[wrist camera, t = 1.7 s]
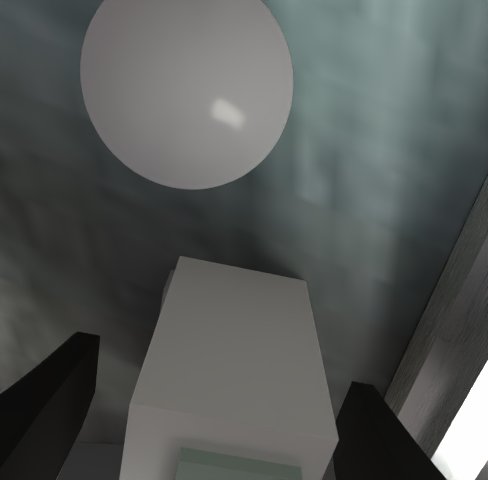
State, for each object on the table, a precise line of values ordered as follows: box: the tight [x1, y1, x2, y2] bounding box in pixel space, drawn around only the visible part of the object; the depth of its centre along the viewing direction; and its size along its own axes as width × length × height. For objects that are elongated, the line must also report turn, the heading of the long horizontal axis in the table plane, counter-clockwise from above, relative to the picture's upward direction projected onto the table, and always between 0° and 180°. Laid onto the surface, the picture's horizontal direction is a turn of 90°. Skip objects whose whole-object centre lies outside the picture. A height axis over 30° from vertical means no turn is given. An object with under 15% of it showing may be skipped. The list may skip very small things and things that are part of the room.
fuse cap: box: [80, 0, 293, 189], centre depth 9 cm, size 3×3×5 cm
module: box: [119, 256, 339, 480], centre depth 12 cm, size 5×4×6 cm
